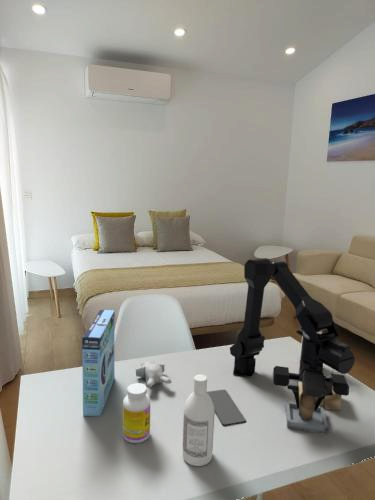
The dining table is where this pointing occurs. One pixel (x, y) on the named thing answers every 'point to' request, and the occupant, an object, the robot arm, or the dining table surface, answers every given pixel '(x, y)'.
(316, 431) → the tray
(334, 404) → the block
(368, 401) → the dining table surface
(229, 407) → the smartphone
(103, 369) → the light blue cardboard box
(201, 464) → the bath foam
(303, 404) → the dowel
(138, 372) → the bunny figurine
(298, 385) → the tan beveled block
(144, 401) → the supplement bottle
